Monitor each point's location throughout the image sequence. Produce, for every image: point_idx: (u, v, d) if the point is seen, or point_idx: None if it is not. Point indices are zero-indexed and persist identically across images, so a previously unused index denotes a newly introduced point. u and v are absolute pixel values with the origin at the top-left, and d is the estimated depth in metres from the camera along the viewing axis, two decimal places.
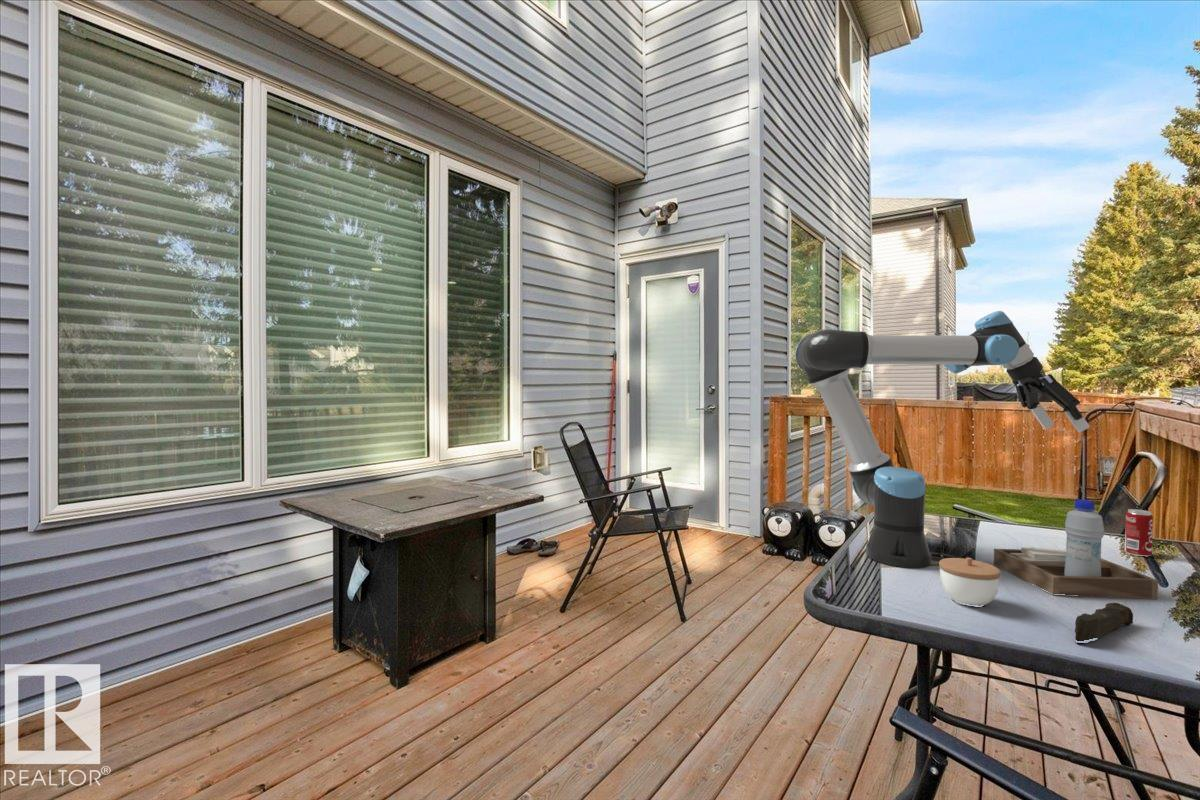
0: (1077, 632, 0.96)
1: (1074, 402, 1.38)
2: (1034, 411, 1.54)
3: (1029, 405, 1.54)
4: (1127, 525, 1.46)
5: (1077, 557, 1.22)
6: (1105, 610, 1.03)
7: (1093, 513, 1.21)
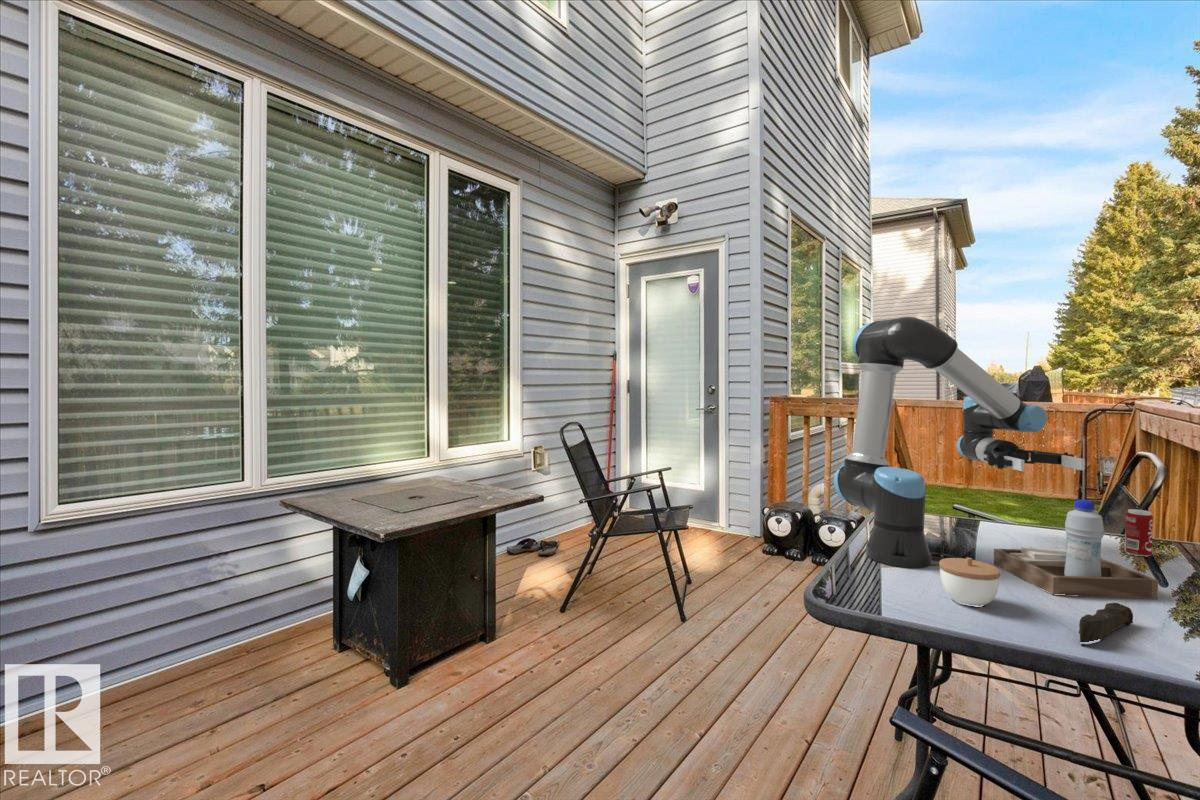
0: (1082, 634, 0.96)
1: None
2: None
3: (1002, 456, 1.40)
4: (1127, 525, 1.46)
5: (1077, 557, 1.22)
6: (1106, 610, 1.03)
7: (1093, 513, 1.21)
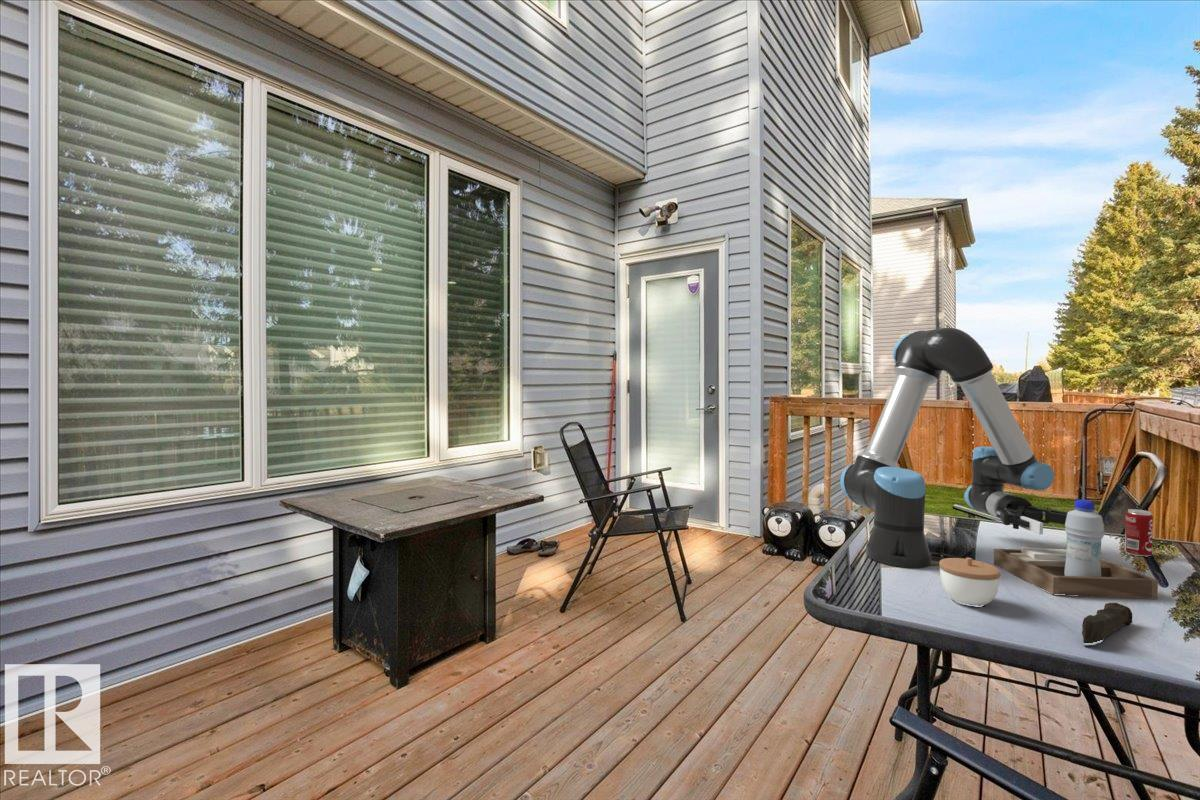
0: (1085, 635, 0.95)
1: None
2: None
3: (1018, 515, 1.36)
4: (1127, 525, 1.46)
5: (1077, 557, 1.22)
6: (1106, 610, 1.03)
7: (1093, 513, 1.21)
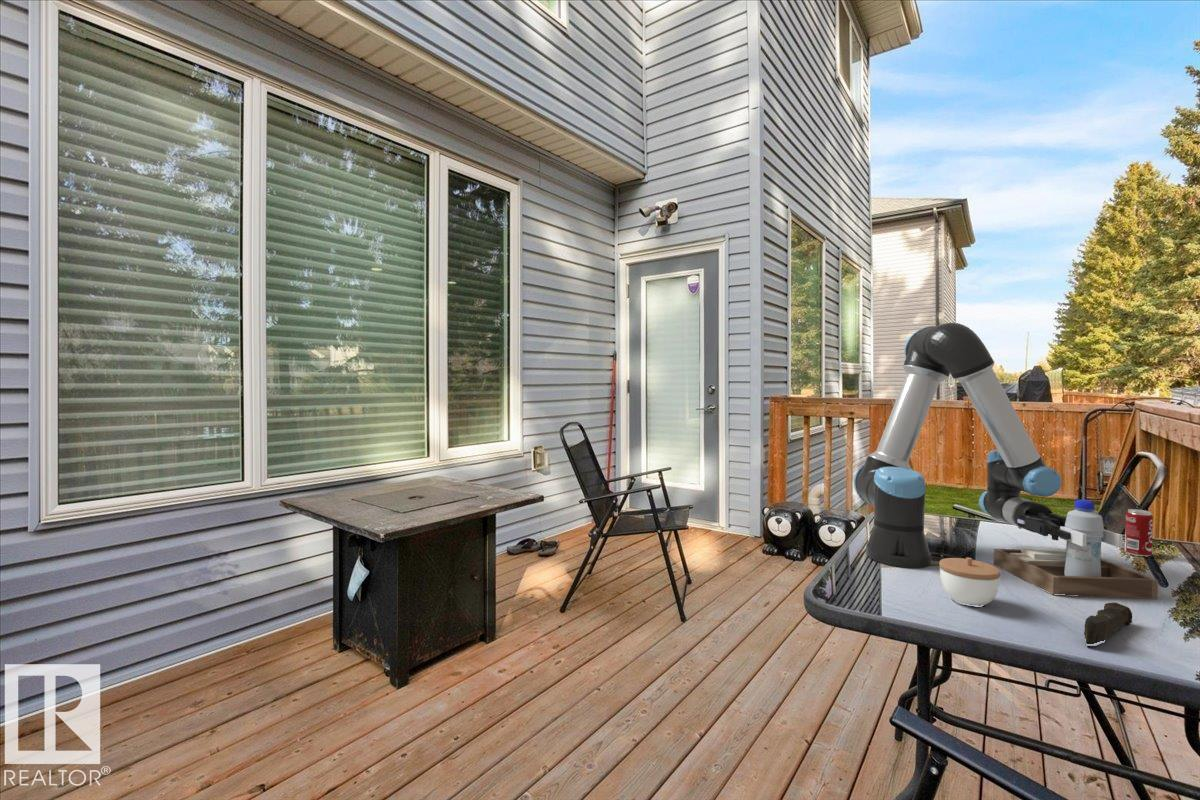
0: (1088, 635, 0.95)
1: None
2: None
3: (1055, 525, 1.27)
4: (1127, 525, 1.46)
5: (1077, 557, 1.22)
6: (1107, 610, 1.03)
7: (1093, 513, 1.21)
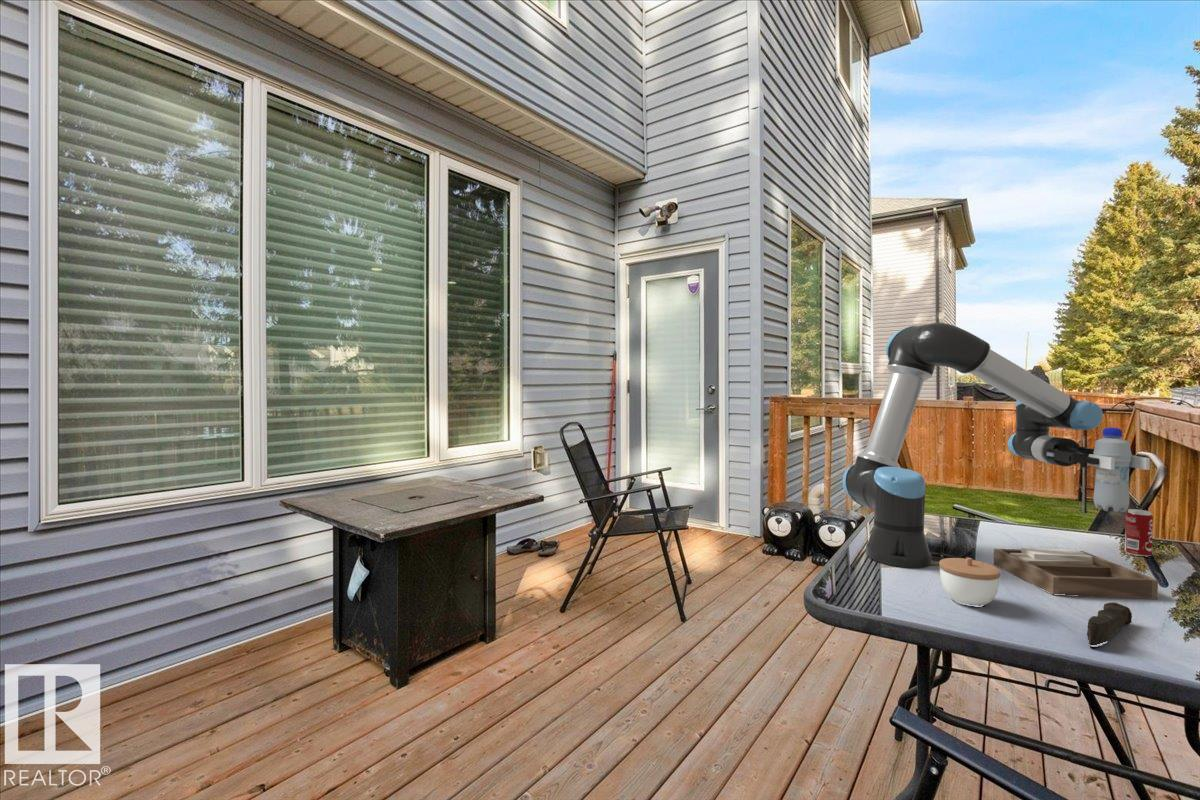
0: (1091, 636, 0.94)
1: None
2: None
3: (1083, 453, 1.33)
4: (1127, 525, 1.46)
5: (1106, 482, 1.28)
6: (1108, 611, 1.02)
7: (1121, 439, 1.27)
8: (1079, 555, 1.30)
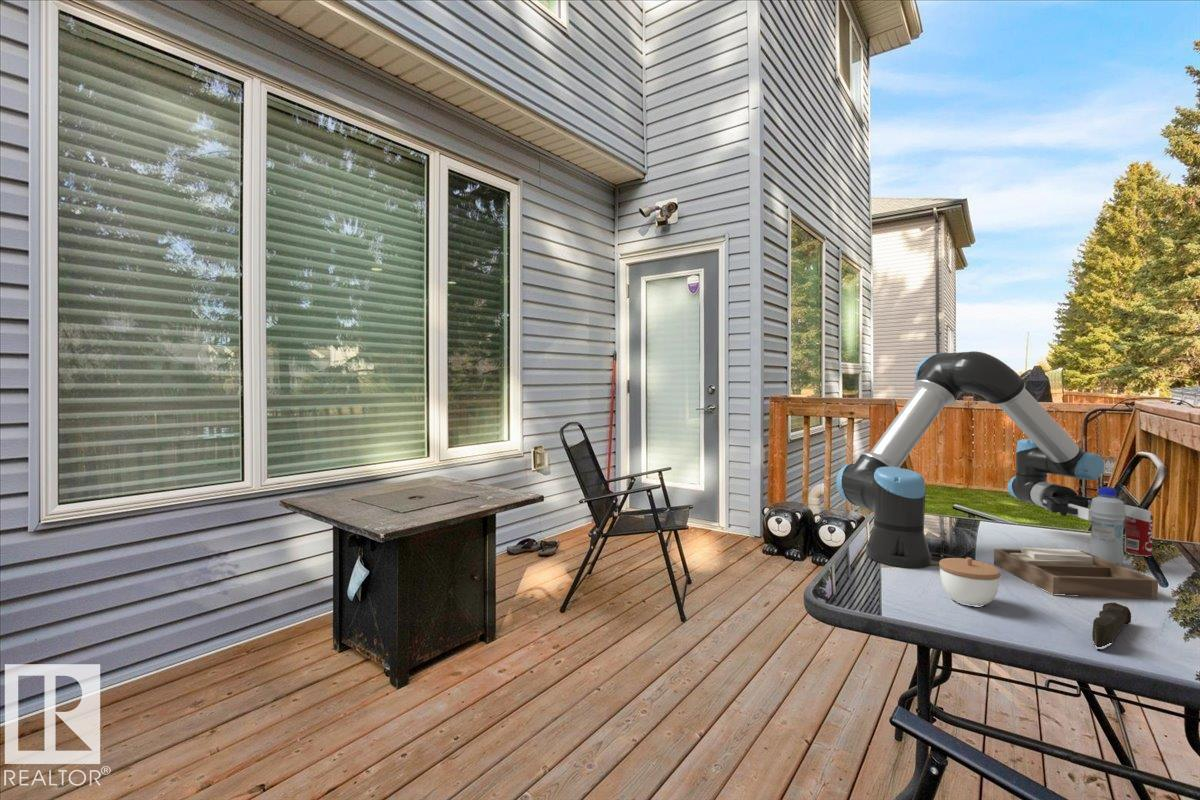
0: (1098, 638, 0.94)
1: None
2: None
3: (1066, 503, 1.43)
4: (1127, 525, 1.46)
5: (1101, 538, 1.36)
6: (1109, 611, 1.02)
7: (1115, 499, 1.36)
8: (1079, 555, 1.30)
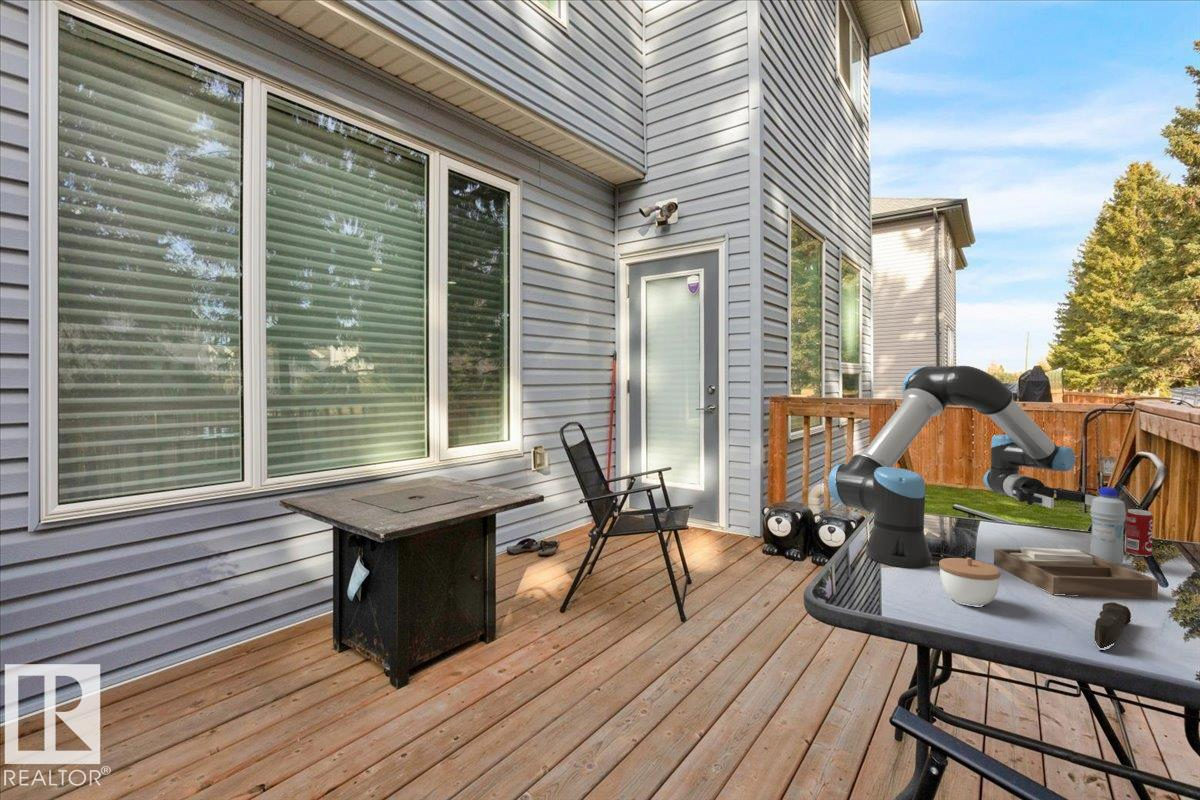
0: (1101, 639, 0.94)
1: None
2: None
3: (1032, 493, 1.55)
4: (1127, 525, 1.46)
5: (1102, 539, 1.36)
6: (1109, 611, 1.02)
7: (1116, 499, 1.36)
8: (1079, 555, 1.30)
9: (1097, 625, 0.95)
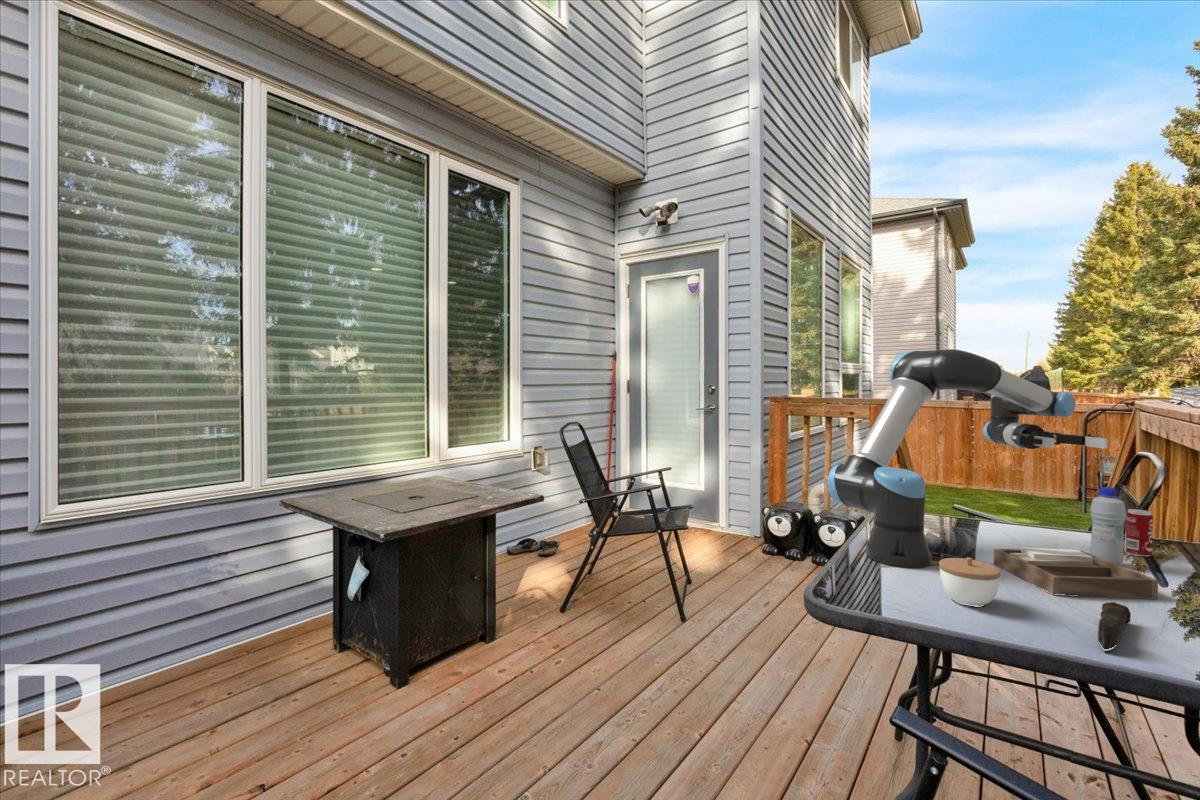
0: (1105, 640, 0.93)
1: None
2: None
3: (1032, 436, 1.55)
4: (1127, 525, 1.46)
5: (1102, 539, 1.36)
6: (1110, 611, 1.02)
7: (1116, 499, 1.36)
8: (1079, 555, 1.30)
9: (1101, 626, 0.95)
